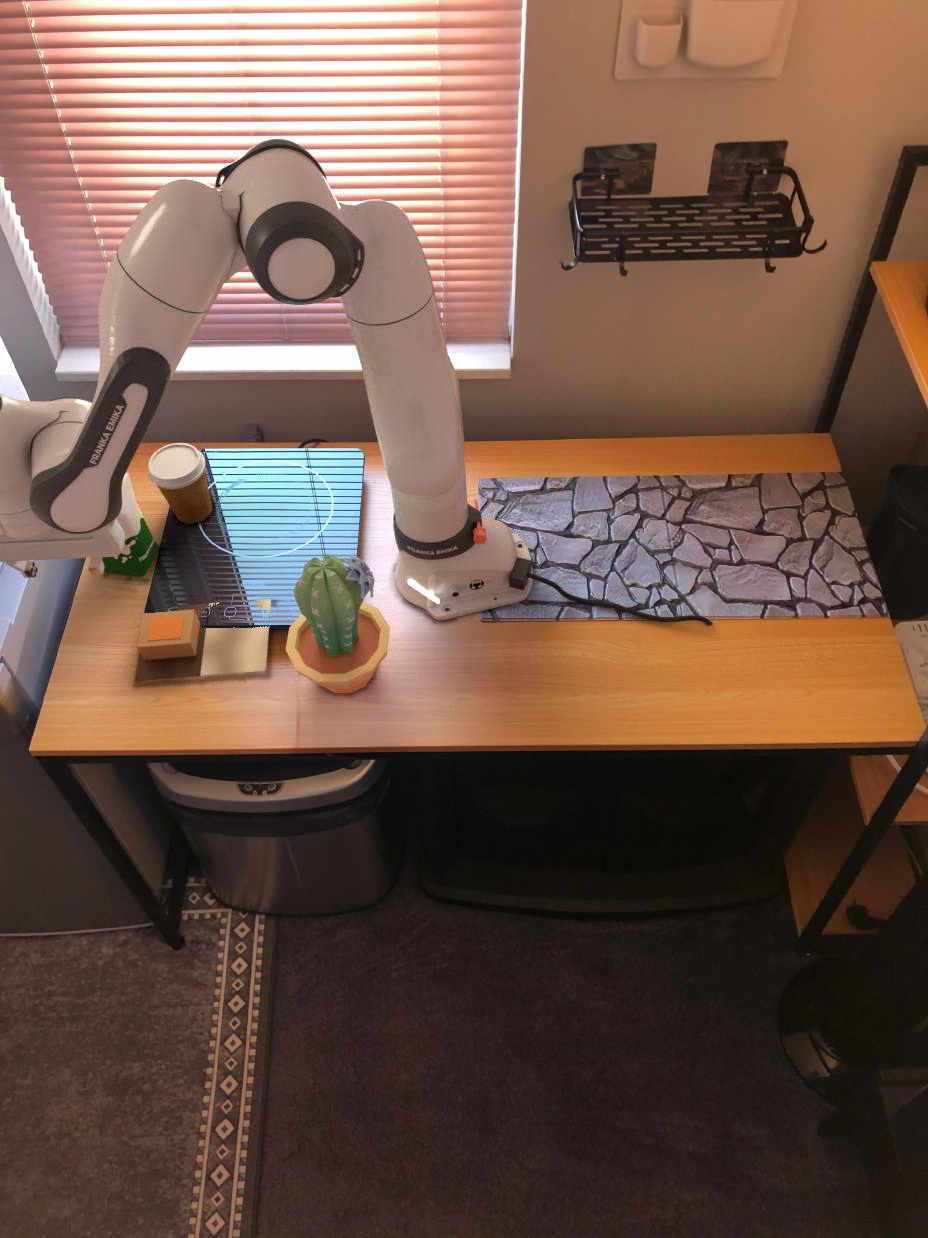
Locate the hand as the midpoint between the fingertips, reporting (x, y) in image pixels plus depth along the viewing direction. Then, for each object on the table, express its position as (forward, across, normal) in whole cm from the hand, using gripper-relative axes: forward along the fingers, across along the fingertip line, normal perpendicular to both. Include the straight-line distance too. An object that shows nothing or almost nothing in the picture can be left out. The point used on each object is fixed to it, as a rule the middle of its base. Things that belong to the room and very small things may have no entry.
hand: (65, 572), depth 134 cm
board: (+19, -16, 0) cm, 24 cm away
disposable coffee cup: (+19, -10, -29) cm, 36 cm away
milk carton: (+19, -1, -18) cm, 26 cm away
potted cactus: (+18, -38, +6) cm, 42 cm away
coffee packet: (+18, -10, 0) cm, 20 cm away
